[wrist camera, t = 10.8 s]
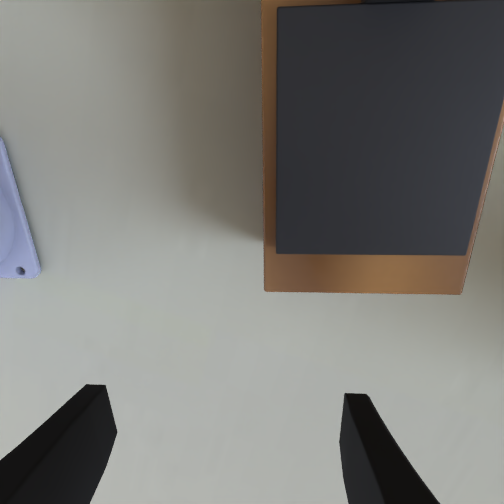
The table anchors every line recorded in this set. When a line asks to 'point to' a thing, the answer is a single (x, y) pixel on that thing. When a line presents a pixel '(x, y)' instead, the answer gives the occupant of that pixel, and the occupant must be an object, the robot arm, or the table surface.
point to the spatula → (385, 124)
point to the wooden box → (344, 266)
